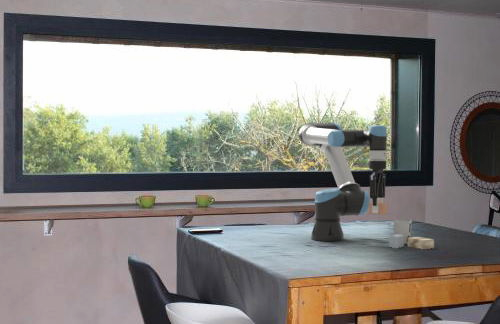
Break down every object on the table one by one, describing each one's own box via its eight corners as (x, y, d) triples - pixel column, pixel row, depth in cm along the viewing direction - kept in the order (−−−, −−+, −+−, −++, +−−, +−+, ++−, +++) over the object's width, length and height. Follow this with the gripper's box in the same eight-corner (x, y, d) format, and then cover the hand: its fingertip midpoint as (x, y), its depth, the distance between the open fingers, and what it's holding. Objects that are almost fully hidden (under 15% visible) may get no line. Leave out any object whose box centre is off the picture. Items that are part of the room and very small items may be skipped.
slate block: (397, 248, 288) (397, 236, 287) (388, 247, 290) (388, 236, 290) (403, 246, 293) (403, 235, 293) (395, 245, 296) (395, 234, 296)
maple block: (407, 246, 294) (407, 237, 294) (418, 245, 297) (418, 236, 296) (422, 249, 285) (422, 240, 285) (433, 248, 288) (433, 239, 287)
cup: (411, 244, 298) (411, 222, 298) (393, 244, 300) (393, 221, 299) (411, 242, 306) (411, 220, 306) (392, 241, 307) (393, 219, 307)
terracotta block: (369, 213, 300) (368, 202, 299) (372, 213, 303) (372, 202, 303) (383, 214, 296) (383, 203, 296) (387, 213, 299) (387, 202, 299)
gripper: (378, 160, 290) (377, 215, 290) (393, 159, 304) (392, 211, 304) (361, 160, 294) (361, 214, 295) (377, 159, 308) (377, 210, 309)
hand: (377, 212), depth 299 cm, fingers closed on terracotta block, 4 cm apart
